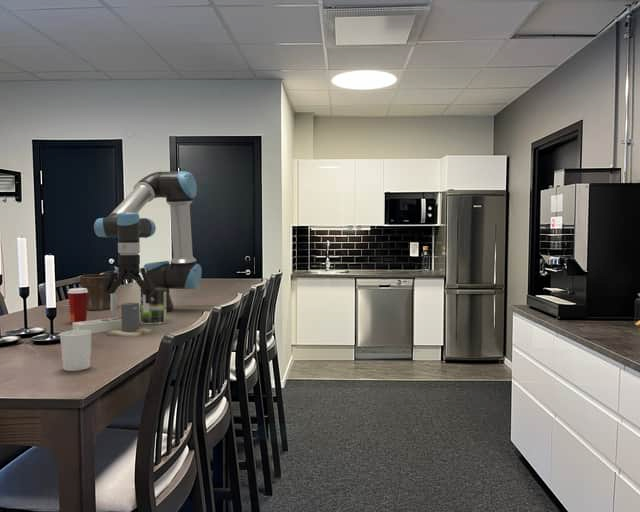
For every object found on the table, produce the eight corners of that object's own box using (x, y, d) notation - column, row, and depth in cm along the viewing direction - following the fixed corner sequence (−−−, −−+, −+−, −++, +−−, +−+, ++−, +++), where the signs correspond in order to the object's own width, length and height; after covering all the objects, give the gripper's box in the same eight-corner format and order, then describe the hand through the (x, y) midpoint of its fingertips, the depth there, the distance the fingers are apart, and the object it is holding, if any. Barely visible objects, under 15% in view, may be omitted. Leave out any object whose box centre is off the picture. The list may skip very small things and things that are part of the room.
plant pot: (122, 308, 247) (122, 275, 246) (88, 312, 235) (87, 277, 234) (107, 305, 258) (107, 273, 257) (74, 308, 246) (73, 275, 245)
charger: (129, 328, 194) (129, 302, 193) (139, 329, 193) (138, 303, 192) (121, 331, 189) (121, 304, 188) (131, 332, 188) (131, 305, 187)
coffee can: (155, 325, 205) (155, 290, 204) (135, 323, 209) (134, 289, 208) (172, 321, 214) (171, 287, 214) (152, 319, 218) (152, 286, 218)
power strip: (120, 327, 203) (120, 315, 203) (127, 329, 198) (127, 317, 198) (72, 333, 191) (72, 321, 191) (79, 336, 186) (79, 323, 186)
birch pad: (125, 328, 198) (125, 326, 198) (153, 330, 195) (153, 328, 195) (105, 335, 186) (105, 332, 186) (135, 336, 183) (135, 334, 183)
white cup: (67, 364, 146) (67, 329, 146) (96, 364, 147) (95, 329, 146) (55, 372, 138) (55, 335, 138) (86, 371, 139) (85, 335, 139)
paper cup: (92, 321, 213) (91, 288, 212) (82, 324, 206) (81, 290, 205) (74, 321, 214) (74, 287, 213) (63, 324, 206) (63, 289, 206)
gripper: (92, 254, 188) (94, 311, 189) (153, 255, 182) (154, 314, 184) (105, 253, 196) (107, 308, 197) (164, 254, 190) (165, 311, 191)
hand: (129, 311), depth 190 cm, fingers open, 13 cm apart
